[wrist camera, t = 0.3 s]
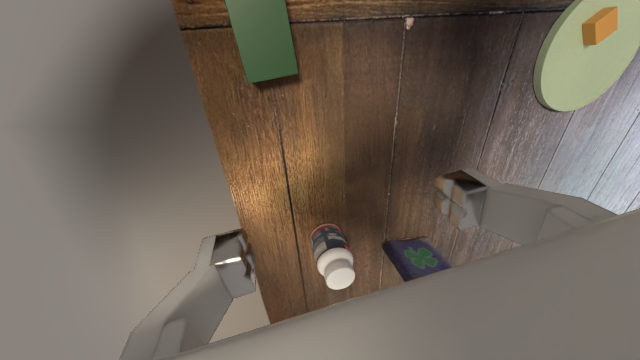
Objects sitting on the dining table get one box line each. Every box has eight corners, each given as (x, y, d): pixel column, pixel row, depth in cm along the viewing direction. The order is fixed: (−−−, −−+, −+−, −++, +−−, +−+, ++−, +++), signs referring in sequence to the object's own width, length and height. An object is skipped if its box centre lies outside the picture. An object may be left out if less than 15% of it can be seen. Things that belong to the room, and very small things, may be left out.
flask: (428, 235, 46) (471, 282, 37) (424, 247, 48) (464, 296, 38) (383, 239, 44) (416, 290, 35) (379, 251, 45) (411, 304, 36)
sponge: (223, -12, 24) (218, -21, 20) (276, -19, 24) (279, -30, 21) (248, 78, 28) (248, 83, 24) (293, 70, 28) (298, 73, 25)
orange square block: (581, 23, 32) (595, 23, 31) (603, 7, 32) (618, 5, 30) (583, 45, 34) (596, 45, 32) (603, 29, 33) (618, 29, 32)
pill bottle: (347, 229, 41) (368, 271, 34) (328, 251, 43) (344, 296, 35) (321, 217, 39) (337, 260, 31) (303, 241, 40) (314, 287, 33)
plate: (553, -9, 30) (563, -11, 29) (659, -28, 32) (672, -31, 31) (520, 119, 39) (528, 121, 38) (607, 98, 40) (616, 99, 39)
